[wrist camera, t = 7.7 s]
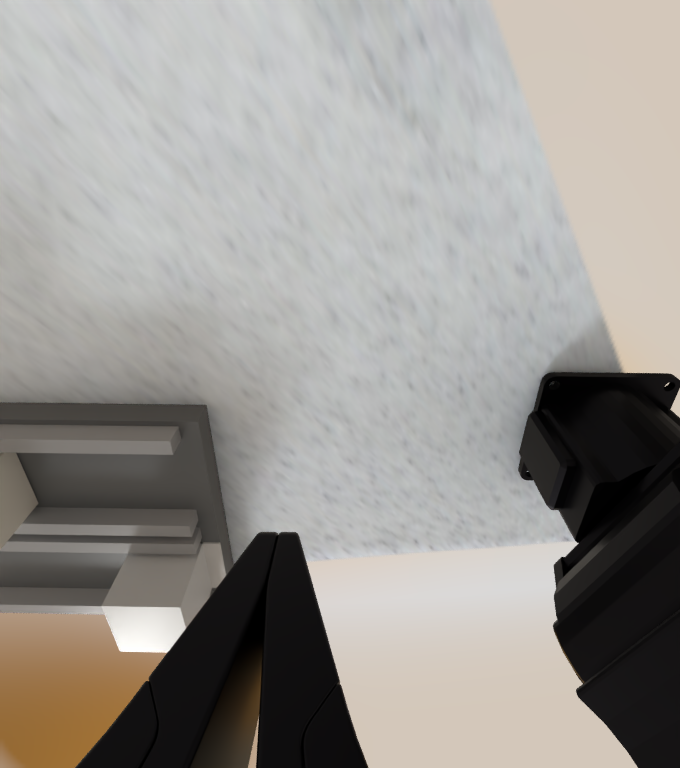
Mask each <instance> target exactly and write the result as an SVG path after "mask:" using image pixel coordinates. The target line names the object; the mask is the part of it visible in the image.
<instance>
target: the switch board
mask: <svg viewBox="0 0 680 768" xmlns="http://www.w3.org/2000/svg"><path fill="white" fill-rule="evenodd" d="M0 453H16V454H17V456H18V458H19V461H20V463H21V465H22V467H23V470H24V472H25V474H26V476H27V479H28V481H29V483H30V485H31V487H32V490H33V492H34V494H35V496H36V499H37V501H38V505H37V506H36V507H35V508H34V510H33V511H32V512H31V513H30V514H29V516H28V517H27V518H26V519H25V520H24V522H23V523H22V524H21V525H20V527H19V528H18V529H17V530H16V531H15V533H14V534H13V535H12V536H11V537H10V539H9V540H8V541H7V542H6V544H5V545H4V546H3V547H2V548H1V550H0V613H53V614H56V613H57V614H59V613H60V614H104V612H103V609H102V607H101V606H102V604H103V602H104V600H105V598H106V596H107V594H108V592H109V590H110V588H111V586H112V584H113V582H114V580H115V578H116V576H117V575H118V573H119V571H120V569H121V567H122V565H123V563H124V561H125V559H126V557H127V555H128V553H134V554H196V553H197V550H198V547H199V545H200V543H202V544H203V548H204V552H205V557H206V562H207V566H208V571H209V576H210V580H211V585H212V590H211V593H210V596H211V595H212V593H213V592H214V591H215V589H216V588H217V587H218V585H219V584H220V583H221V581H222V580H223V579H224V577H225V576H226V575H227V573H228V572H229V571H230V569H231V568H232V567H233V566H234V565H233V559H232V553H231V548H230V542H229V536H228V530H227V524H226V518H225V512H224V506H223V501H222V495H221V489H220V483H219V477H218V471H217V465H216V459H215V454H214V448H213V442H212V436H211V430H210V424H209V418H208V412H207V407H206V405H150V404H65V403H0Z"/></svg>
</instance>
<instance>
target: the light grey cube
mask: <svg viewBox="0 0 680 768" xmlns="http://www.w3.org/2000/svg"><path fill="white" fill-rule="evenodd" d="M211 590H212V585H211V580H210V576H209V571H208V566H207V562H206V557H205V552H204V548H203V544H202V543H200V545H199V547H198V550H197V553H196V554H134V553H128V555H127V557H126V559H125V561H124V563H123V565H122V567H121V569H120V571H119V573H118V575H117V576H116V578H115V580H114V582H113V584H112V586H111V588H110V590H109V592H108V594H107V596H106V598H105V600H104V602H103V604H102V606H101V607H102V609H103V612H104V614H105V616H106V619H107V621H108V624H109V626H110V628H111V631H112V633H113V636H114V638H115V640H116V643H117V645H118V647H119V650H120V651H121V652H123V651H124V652H168V651H169V650H170V649H171V647H172V646H173V645H174V643H175V642H176V641H177V639H178V638H179V637H180V636H181V634H182V633H183V632H184V630H185V629H186V628H187V626H188V625H189V624H190V622H191V621H192V620H193V618H194V617H195V616H196V614H197V613H198V612H199V610H200V609H201V608H202V606H203V605H204V604H205V602H206V601H207V600H208V599H209V597H210V593H211Z"/></svg>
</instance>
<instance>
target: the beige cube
mask: <svg viewBox="0 0 680 768" xmlns="http://www.w3.org/2000/svg"><path fill="white" fill-rule="evenodd" d="M37 505H38V501H37V499H36V496H35V494H34V492H33V490H32V487H31V485H30V483H29V481H28V479H27V476H26V474H25V472H24V470H23V467H22V465H21V463H20V461H19V458H18V456H17V454H16V453H0V550H1V548H2V547H3V546H4V545H5V544H6V542H7V541H8V540H9V539H10V537H11V536H12V535H13V534H14V533H15V531H16V530H17V529H18V528H19V527H20V525H21V524H22V523H23V522H24V520H25V519H26V518H27V517H28V516H29V514H30V513H31V512H32V511H33V510H34V508H35V507H36V506H37Z"/></svg>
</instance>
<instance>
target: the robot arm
mask: <svg viewBox="0 0 680 768" xmlns="http://www.w3.org/2000/svg"><path fill="white" fill-rule="evenodd" d="M553 381H557V382H556V383H555V384H554V385H552V386H549V385H550V383H551V382H553ZM669 382H670V383H669ZM667 383H669V385H668V386H666V387H664V386H665V385H666V384H667ZM679 388H680V380H679V379H678V378H676V377H675V376H674V375H672V374H663V373H662V374H661V373H659V374H658V373H572V372H552V373H548V374H546V375H545V376H544V377H543V378H542V380H541V383H540V387H539V391H538V395H537V399H536V402H535V406H534V410H533V411H532V412H531V413H530V414H529V416H528V420H527V424H526V427H525V431H524V435H523V439H522V443H521V447H520V451H519V453H520V455H521V460H520V464H519V468H518V471H519V473H520V475H521V477H522V478H523V479H524V480H534V482H535V484H536V486H537V488H538V490H539V492H540V494H541V495H542V497H543V499H544V501H545V503H546V505H547V506H548V507H549V508H550V509H551V510H559V512H560V514H561V516H562V517H563V519H564V521H565V523H566V525H567V526H568V528H569V530H570V532H571V534H572V536H573V537H574V539H575V541H576V542H577V543H579V544H578V545H577V546H576V547H575V548H574V549H573V550H572V551H571V552H570V553H569V554H568V555H567V556H566V557H561V558H560V559H559V560H558V561H557V562H556V563H555V564H554V573H555V582H556V591H555V594H554V601H555V609H556V616H557V619H558V620H557V621H556V622H554V625H553V628H554V632H555V635H556V637H557V639H558V642H559V644H560V646H561V648H562V651H563V653H564V654H565V656H566V658H567V659H568V661H569V663H570V664H571V666H572V668H573V669H574V671H575V673H576V675H577V676H578V678H579V679H580V680H581V682H582V683H583V685H581V686H580V687H579V688H577V689H576V692H577V695H578V697H579V698H580V699H581V700H582V701H583V702H584V703H585V704H586V705H587V706H588V707H589V708H590V709H591V710H592V711H593V712H594V713H595V714H596V715H597V716H598V717H599V718H600V719H601V720H602V721H603V722H604V723H605V724H606V725H607V727H608V728H609V729H610V730H611V731H612V733H613V734H614V735H615V737H616V738H617V739H618V740H619V742H620V743H621V744H622V745H623V747H624V748H625V749H626V750H627V752H628V753H629V755H630V756H631V757H632V759H633V761H634V762H635V764H636V765H637V767H638V768H680V418H679V417H678V416H677V415H676V414H675V413H674V412H672V411H671V410H670V409H671V406H672V404H673V402H674V400H675V397H676V395H677V393H678V391H679ZM526 471H529V472H526ZM258 717H259V727H258V744H257V763H256V768H368V765H367V763H366V760H365V758H364V755H363V752H362V749H361V747H360V744H359V742H358V739H357V736H356V733H355V730H354V727H353V724H352V720H351V717H350V714H349V711H348V708H347V704H346V701H345V697H344V694H343V690H342V687H341V685H340V680H339V676H338V673H337V669H336V666H335V663H334V659H333V655H332V652H331V648H330V645H329V641H328V637H327V634H326V630H325V627H324V623H323V620H322V616H321V613H320V609H319V606H318V602H317V599H316V595H315V591H314V588H313V584H312V581H311V577H310V573H309V570H308V566H307V563H306V559H305V556H304V552H303V549H302V545H301V541H300V538H299V535H298V533H296V532H281V533H279V535H278V533H276V532H260V533H258V534H257V535H256V536H255V538H254V539H253V540H252V542H251V543H250V544H249V546H248V547H247V548H246V550H245V551H244V552H243V554H242V555H241V556H240V558H239V559H238V560H237V562H236V563H235V564H234V566H233V567H232V568H231V569H230V571H229V572H228V573H227V575H226V576H225V577H224V579H223V580H222V581H221V583H220V584H219V585H218V587H217V588H216V589H215V591H214V592H213V593H212V595H211V596H210V597H209V599H208V600H207V601H206V602H205V604H204V605H203V606H202V608H201V609H200V610H199V612H198V613H197V614H196V616H195V617H194V618H193V620H192V621H191V622H190V624H189V625H188V626H187V628H186V629H185V630H184V632H183V633H182V634H181V636H180V637H179V638H178V639H177V641H176V642H175V643H174V645H173V646H172V647H171V649H170V650H169V651H168V653H167V654H166V655H165V657H164V658H163V659H162V661H161V662H160V663H159V665H158V666H157V667H156V669H155V670H154V671H153V672H152V674H151V675H150V676H149V681H146V682H145V683H144V684H143V685H142V687H141V688H140V689H139V691H138V692H137V693H136V695H135V696H134V697H133V699H132V700H131V701H130V703H129V704H128V705H127V706H126V708H125V709H124V710H123V711H122V713H121V714H120V715H119V716H118V718H117V719H116V720H115V722H114V723H113V724H112V725H111V727H110V728H109V729H108V730H107V732H106V733H105V734H104V735H103V736H102V737H101V739H100V740H99V741H98V742H97V743H96V744H95V745H94V747H93V748H92V749H91V750H90V751H89V753H87V755H86V756H85V757H84V758H83V759H82V760H81V762H80V763H79V764H78V765H77V766H76V767H75V768H248V764H249V759H250V755H251V750H252V745H253V740H254V736H255V730H256V726H257V721H258Z"/></svg>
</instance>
